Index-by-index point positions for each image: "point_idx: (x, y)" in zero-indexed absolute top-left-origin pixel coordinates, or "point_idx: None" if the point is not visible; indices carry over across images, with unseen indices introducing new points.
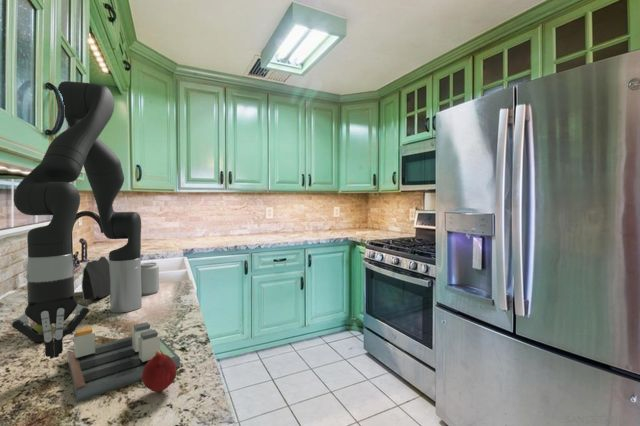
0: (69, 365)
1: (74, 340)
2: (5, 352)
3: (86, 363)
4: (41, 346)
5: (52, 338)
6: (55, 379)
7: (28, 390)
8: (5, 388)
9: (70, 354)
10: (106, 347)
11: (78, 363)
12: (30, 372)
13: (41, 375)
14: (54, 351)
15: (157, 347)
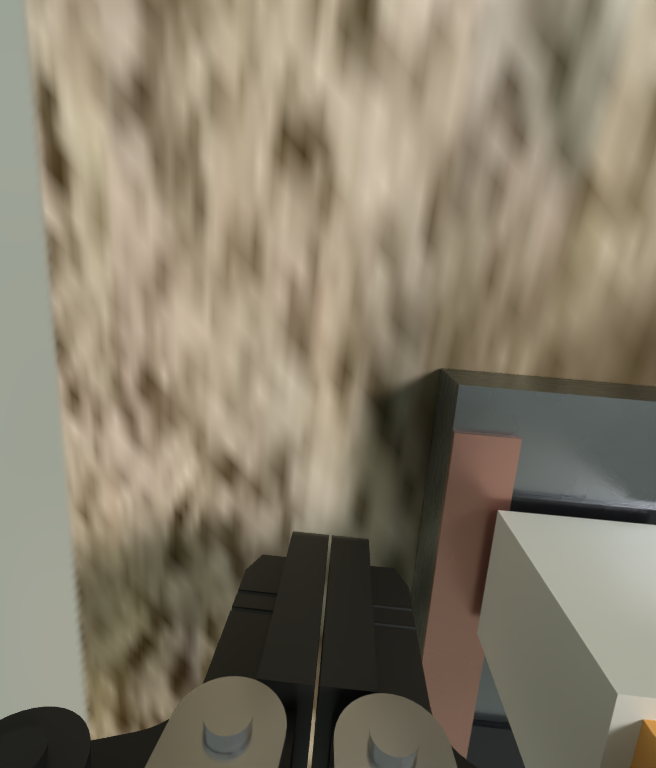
0: (423, 564)
1: (553, 724)
2: None
3: (513, 765)
4: None
5: (302, 696)
6: (321, 615)
7: (182, 641)
8: (68, 506)
9: (469, 470)
10: None
11: (468, 722)
12: (197, 355)
13: (256, 478)
14: (318, 686)
15: None
